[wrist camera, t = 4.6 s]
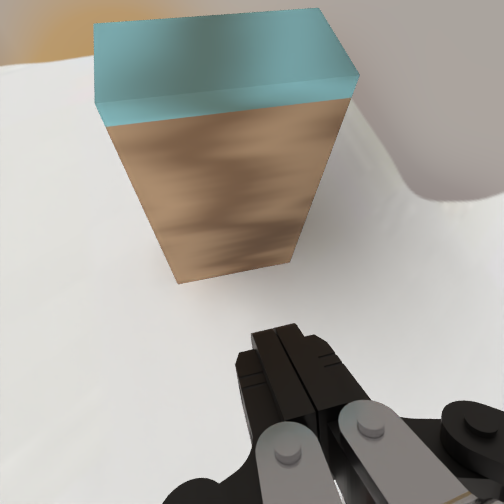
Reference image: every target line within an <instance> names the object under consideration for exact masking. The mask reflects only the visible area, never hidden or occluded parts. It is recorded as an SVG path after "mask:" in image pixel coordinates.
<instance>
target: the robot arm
mask: <svg viewBox="0 0 504 504" xmlns="http://www.w3.org/2000/svg"><path fill="white" fill-rule="evenodd" d="M251 341H252V348H253V349H252V350H248V351H244V352H240V353H239V355H238V358H237V361H236V364H235V367H236V372H237V378H238V383H239V389H240V395H241V400H242V405H243V409H244V414H245V418H246V422H247V427H248V431H249V435H250V439H251V444H252V449H251V452H250V454H249V456H248V458H247V460H246V461H245V463H244V464H243V465H242V466H241V467H240V469H239V470H237V471H236V472H235V473H234V474H232V475H231V476H229V477H228V478H227V479H225V480H224V481H222V482H221V483H220V484H219V483H217V482H215V481H214V480H211V479H207V478H196V479H192V480H189V481H187V482H185V483H183V484H181V485H180V486H178V487H177V488H176V489H174V490H173V491H172V492H171V493H170V494H169V495H168V497H167V498H166V499H165V501H164V502H163V504H504V411H501V410H498V409H495V408H492V407H490V406H487V405H484V404H481V403H477V402H472V401H455V402H452V403H449V404H448V405H446V406H445V408H444V409H443V411H442V416H441V419H410V418H403V417H399V416H398V415H397V414H396V413H395V412H394V411H393V410H392V409H390V408H389V407H387V406H385V405H384V404H381V403H379V402H376V401H372V400H371V399H370V398H369V397H368V395H367V394H366V393H365V391H364V390H363V389H362V387H361V386H360V385H359V383H358V382H357V381H356V380H355V378H354V377H353V376H352V374H351V373H350V372H349V370H348V369H347V368H346V366H345V365H344V364H342V361H341V360H340V359H339V357H338V356H337V355H335V352H334V351H333V349H332V348H331V347H330V346H329V344H328V343H327V342H326V341H324V340H323V339H321V338H319V337H318V336H316V335H310V336H305V337H304V335H303V334H302V332H301V331H300V329H299V328H298V326H297V325H296V324H295V323H293V324H289V325H285V326H280V327H276V328H273V329H268V330H264V331H259V332H255V333H251ZM334 480H336V482H337V485H338V487H339V489H340V491H341V493H342V501H341V499H340V496H339V493H338V491H337V488H336V486H335V483H334Z"/></svg>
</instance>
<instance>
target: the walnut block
mask: <svg viewBox="0 0 504 504" xmlns="http://www.w3.org/2000/svg"><path fill="white" fill-rule="evenodd" d="M359 76H360V75H359V73H358V71H357V70H356V68H355V66H354V65H353V63H352V61H351V60H350V58H349V56H348V55H347V53H346V52H345V50H344V48H343V47H342V45H341V43H340V42H339V40H338V38H337V37H336V35H335V33H334V32H333V30H332V29H331V27H330V25H329V24H328V22H327V20H326V19H325V17H324V15H323V14H322V12H321V10H320V9H319V8H308V9H295V10H281V11H266V12H252V13H239V14H224V15H210V16H197V17H182V18H168V19H154V20H139V21H125V22H111V23H99V24H98V23H97V24H94V88H95V105H96V107H97V109H98V112H99V114H100V116H101V118H102V120H103V122H104V125H105V127H106V129H107V131H108V133H109V136H110V138H111V140H112V142H113V144H114V146H115V149H116V151H117V153H118V155H119V157H120V159H121V162H122V164H123V166H124V168H125V170H126V172H127V175H128V177H129V179H130V181H131V183H132V186H133V188H134V190H135V192H136V194H137V196H138V199H139V201H140V203H141V205H142V207H143V209H144V212H145V214H146V216H147V218H148V220H149V222H150V225H151V227H152V229H153V231H154V233H155V236H156V238H157V240H158V242H159V244H160V246H161V249H162V251H163V253H164V255H165V257H166V259H167V262H168V264H169V266H170V268H171V270H172V272H173V275H174V277H175V279H176V281H177V283H178V284H182V283H187V282H192V281H197V280H202V279H207V278H212V277H217V276H222V275H228V274H233V273H238V272H243V271H248V270H253V269H258V268H263V267H268V266H273V265H278V264H283V263H288V262H290V260H291V257H292V255H293V252H294V249H295V247H296V244H297V241H298V239H299V236H300V233H301V231H302V228H303V225H304V223H305V220H306V217H307V215H308V212H309V209H310V207H311V204H312V201H313V199H314V196H315V193H316V191H317V188H318V185H319V183H320V180H321V177H322V175H323V172H324V169H325V167H326V164H327V161H328V159H329V156H330V153H331V151H332V148H333V145H334V143H335V140H336V137H337V135H338V132H339V129H340V127H341V124H342V121H343V119H344V116H345V113H346V110H347V108H348V105H349V102H350V100H351V97H352V94H353V91H354V89H355V86H356V84H357V81H358V78H359Z"/></svg>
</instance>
